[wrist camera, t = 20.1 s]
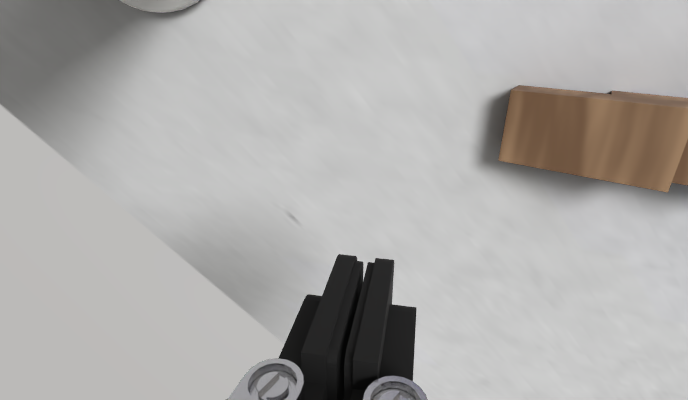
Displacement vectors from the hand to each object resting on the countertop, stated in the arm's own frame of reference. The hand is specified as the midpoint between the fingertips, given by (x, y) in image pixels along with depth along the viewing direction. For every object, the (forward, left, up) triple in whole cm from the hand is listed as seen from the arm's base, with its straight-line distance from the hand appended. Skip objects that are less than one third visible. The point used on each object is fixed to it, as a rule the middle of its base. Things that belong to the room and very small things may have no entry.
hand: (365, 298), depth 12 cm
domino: (+7, 0, -21) cm, 22 cm away
